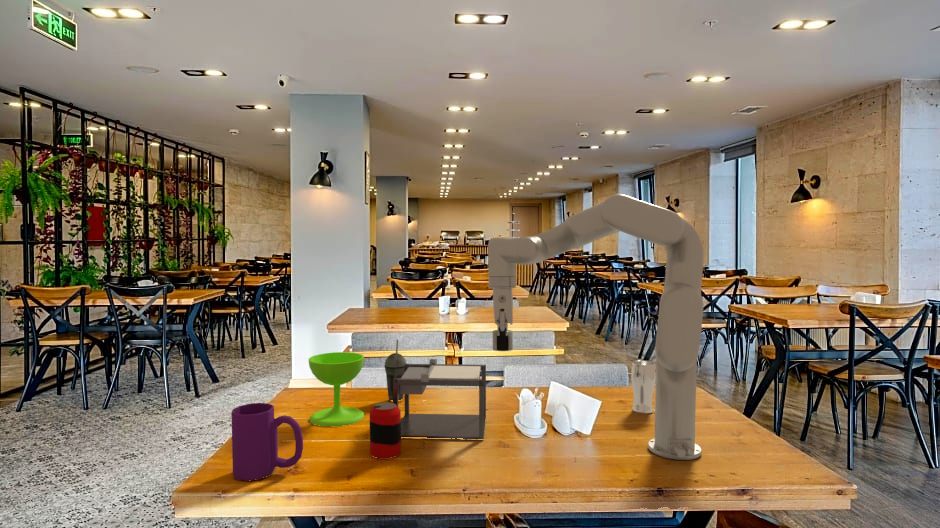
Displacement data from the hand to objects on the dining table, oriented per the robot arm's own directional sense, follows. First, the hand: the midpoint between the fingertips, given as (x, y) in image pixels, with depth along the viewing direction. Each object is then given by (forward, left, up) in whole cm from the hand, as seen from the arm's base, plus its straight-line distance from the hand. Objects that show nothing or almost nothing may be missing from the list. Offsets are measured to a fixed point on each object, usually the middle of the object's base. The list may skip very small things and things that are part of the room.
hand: (502, 347), depth 154 cm
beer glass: (+19, -43, -23) cm, 53 cm away
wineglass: (+7, +49, -23) cm, 55 cm away
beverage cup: (+25, +35, -23) cm, 49 cm away
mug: (-32, +53, -23) cm, 66 cm away
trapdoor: (0, +17, -12) cm, 21 cm away
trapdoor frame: (0, +17, -23) cm, 29 cm away
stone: (0, 0, -1) cm, 1 cm away
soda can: (-19, +29, -23) cm, 42 cm away
